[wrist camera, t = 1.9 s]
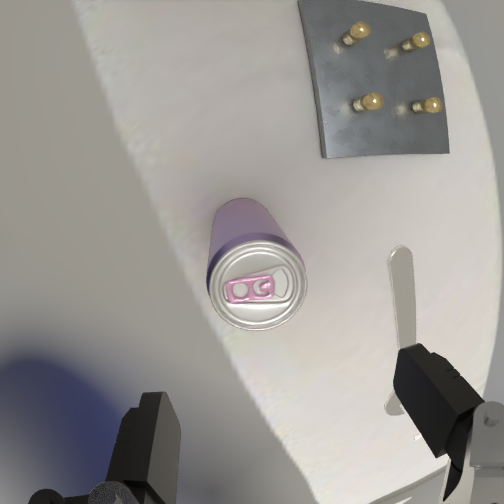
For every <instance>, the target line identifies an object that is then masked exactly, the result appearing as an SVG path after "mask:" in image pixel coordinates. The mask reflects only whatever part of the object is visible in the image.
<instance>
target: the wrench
mask: <svg viewBox="0 0 504 504" xmlns="http://www.w3.org/2000/svg"><path fill="white" fill-rule="evenodd" d="M388 267H389V273H390V280H391V287H392V294H393V302H394V311H395V320H396V329H397V341H398V352H399V350H400V349H402V348H405V347H408V346H411V345H414V344H416V301H415V283H414V269H413V258H412V252H411V251H410V250H409V249H408V248H407V247H405V246H397V247H395V248H394V249H393V250H392V251H391V252H390V254H389V257H388ZM400 404H401V402H400V400H399V399H398V397H397V396H396V394H395V391H394V389H393V391H392V392H391V394H390V396H389V398H388V399H387V401H386V403H385V405H384V409H385V411H386V413H387V414H389V415H401V414H404V411H403V410H402V409H401V408H400V407H399V406H400Z"/></svg>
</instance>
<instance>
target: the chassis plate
mask: <svg viewBox="0 0 504 504" xmlns="http://www.w3.org/2000/svg"><path fill="white" fill-rule="evenodd" d="M298 5H299V10H300V14H301V19H302V24H303V29H304V35H305V40H306V45H307V51H308V57H309V63H310V69H311V75H312V81H313V88H314V95H315V102H316V109H317V116H318V124H319V132H320V141H321V150H322V158H335V157H349V156H366V155H387V154H450V153H449V138H448V127H447V117H446V109H445V101H444V94H443V87H442V81H441V75H440V70H439V65H438V60H437V55H436V51H435V46H434V42H433V38H432V34H431V30H430V26H429V22H428V19H427V15H426V14H424V13H420V12H416V11H412V10H408V9H403V8H399V7H394V6H389V5H383V4H378V3H372V2H365V1H358V0H298Z"/></svg>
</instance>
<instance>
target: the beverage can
mask: <svg viewBox="0 0 504 504" xmlns="http://www.w3.org/2000/svg"><path fill="white" fill-rule="evenodd" d="M206 284H207V290H208V294H209V296H210V299H211V302H212V304H213V307H214V308H215V310H216V312H217V313H218V314H219V315H220V316H221V317H222V318H223V319H224V320H225V321H226V322H228V323H229V324H231V325H233V326H235V327H237V328H240V329H244V330H249V331H263V330H268V329H272V328H275V327H277V326H279V325H281V324H283V323H285V322H286V321H288V320H289V319H290V318H291V317H292V316H293V315H294V314H295V313H296V312H297V311H298V310H299V308H300V307H301V305H302V303H303V301H304V298H305V295H306V291H307V276H306V271H305V266H304V263H303V260H302V258H301V256H300V254H299V253H298V251H297V250H296V248H295V247H294V246H293V244H292V243H291V242H290V240H289V239H288V238H287V236H286V235H285V234H284V232H283V231H282V230H281V228H280V227H279V226H278V224H277V223H276V222H275V220H274V219H273V218H272V216H271V215H270V214H269V212H268V211H267V210H266V209H265V208H264V207H263V206H262V205H261V204H260V203H258V202H256V201H254V200H251V199H245V198H241V199H235V200H232V201H229V202H228V203H226V204H225V205H223V206H222V207H221V208H220V209H219V210H218V212H217V213H216V215H215V217H214V220H213V225H212V233H211V242H210V250H209V259H208V268H207V277H206Z"/></svg>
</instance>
